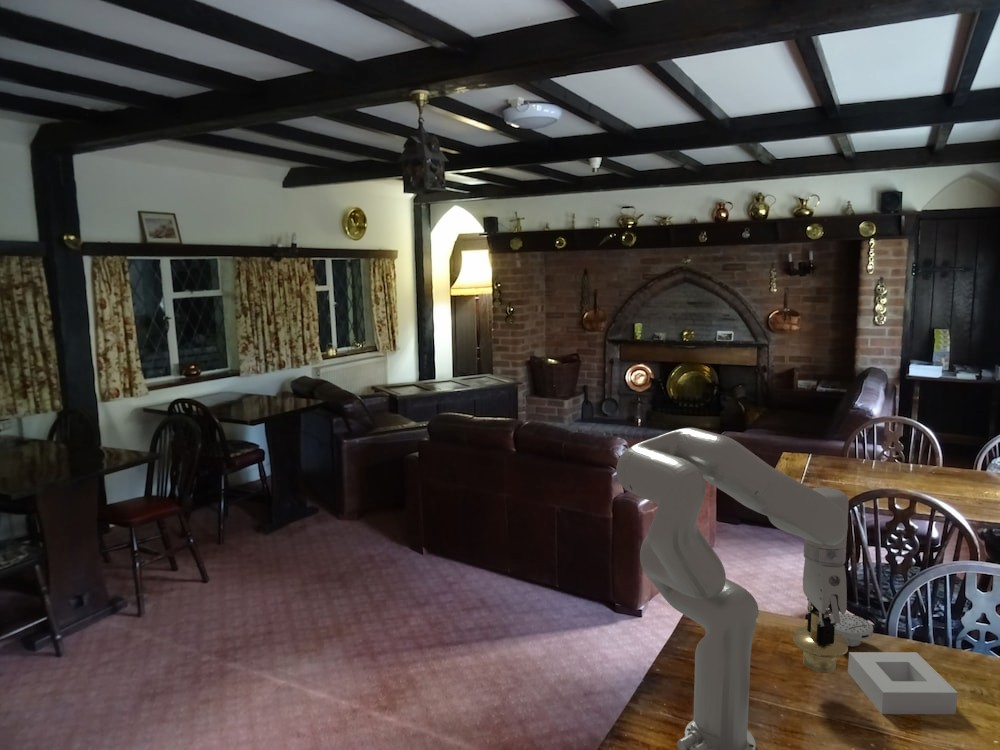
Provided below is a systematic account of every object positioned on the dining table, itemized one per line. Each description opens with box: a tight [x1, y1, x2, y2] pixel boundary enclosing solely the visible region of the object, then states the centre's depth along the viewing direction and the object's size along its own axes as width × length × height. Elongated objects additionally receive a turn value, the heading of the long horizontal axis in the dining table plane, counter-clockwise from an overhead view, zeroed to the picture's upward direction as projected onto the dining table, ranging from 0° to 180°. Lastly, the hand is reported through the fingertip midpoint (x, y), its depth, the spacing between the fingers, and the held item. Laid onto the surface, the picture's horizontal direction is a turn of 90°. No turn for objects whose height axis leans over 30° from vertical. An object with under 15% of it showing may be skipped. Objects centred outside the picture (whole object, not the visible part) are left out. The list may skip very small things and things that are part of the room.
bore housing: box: [847, 651, 959, 715], centre depth 140 cm, size 14×14×6 cm
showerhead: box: [835, 613, 874, 647], centre depth 158 cm, size 9×7×10 cm
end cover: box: [792, 611, 849, 674], centre depth 139 cm, size 10×10×10 cm
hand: (820, 636), depth 139 cm, fingers closed on end cover, 3 cm apart
